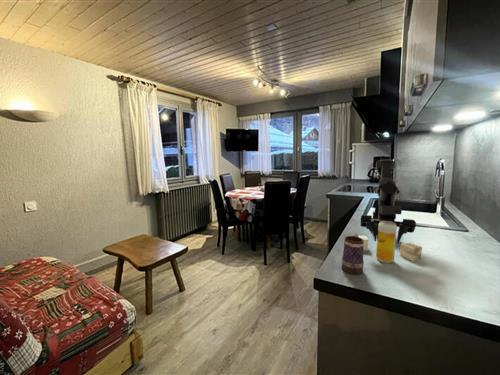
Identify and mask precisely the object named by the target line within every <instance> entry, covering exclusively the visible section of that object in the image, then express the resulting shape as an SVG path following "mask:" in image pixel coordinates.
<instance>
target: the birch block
mask: <svg viewBox="0 0 500 375" xmlns="http://www.w3.org/2000/svg"><path fill="white" fill-rule="evenodd" d="M399 249H400V250H399V256H400V257H402V258H405V259H407V260H409V261H416V260H421V259H422V252H423V247H422V246H421V245H420V246H419V245H418V244H415V243H412V242H405V243H401V244H400V248H399Z"/></svg>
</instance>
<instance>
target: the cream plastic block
mask: <svg viewBox="0 0 500 375" xmlns="http://www.w3.org/2000/svg"><path fill="white" fill-rule="evenodd" d="M358 237H359V238H362V239H363V242H364V246H363V251H366V252H368V250H369V248H368V247H369V238H368V237H367V236H366V235H359V234H358Z"/></svg>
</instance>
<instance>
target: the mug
mask: <svg viewBox="0 0 500 375" xmlns="http://www.w3.org/2000/svg"><path fill="white" fill-rule="evenodd" d="M358 235H359V234H358V233H353V235H347V236H345V237H344V241H343V251H342V257H341V270H342V271H344V272H345V273H347V274H350V275H356V276H357V275H361V274H362V273H363V272H364V264H365V263H364V250H363V246H364V242H363V239H362V238H359V237H358Z"/></svg>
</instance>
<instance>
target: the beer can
mask: <svg viewBox="0 0 500 375" xmlns="http://www.w3.org/2000/svg"><path fill="white" fill-rule="evenodd" d="M397 229H398V227H397V226H396V223H393V222H389V221H380V223H379V225H378V236H377V237H376V251H375V252H376V253H375V254H376V255H375V257H376V258H377V261H378V262H382V263H386V264H391V263H393V262H394V261H395V253H396V244H397V232H398V231H397Z"/></svg>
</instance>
